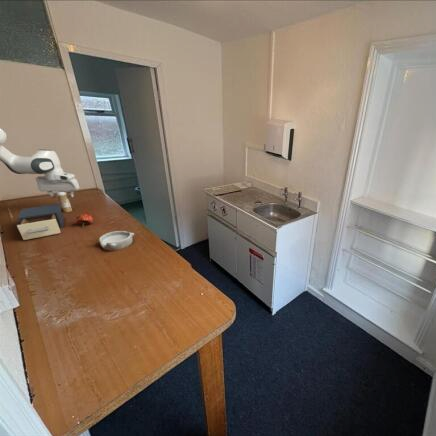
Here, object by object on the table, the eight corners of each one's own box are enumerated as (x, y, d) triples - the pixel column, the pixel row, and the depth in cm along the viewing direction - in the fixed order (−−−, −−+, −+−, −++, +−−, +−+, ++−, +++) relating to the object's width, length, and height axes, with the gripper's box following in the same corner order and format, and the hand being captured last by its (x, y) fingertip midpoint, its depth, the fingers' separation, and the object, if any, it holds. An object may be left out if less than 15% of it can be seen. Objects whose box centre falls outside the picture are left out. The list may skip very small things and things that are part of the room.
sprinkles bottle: (61, 212, 151) (54, 192, 145) (66, 210, 155) (59, 190, 149) (69, 212, 151) (62, 192, 146) (74, 210, 156) (67, 190, 150)
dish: (117, 253, 110) (114, 244, 108) (93, 249, 112) (90, 240, 110) (141, 239, 123) (139, 231, 121) (119, 236, 125) (116, 228, 123)
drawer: (60, 236, 121) (54, 222, 118) (22, 243, 113) (15, 229, 109) (61, 223, 134) (56, 211, 131) (27, 229, 126) (21, 216, 123)
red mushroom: (93, 229, 135) (98, 215, 140) (82, 224, 129) (89, 208, 133) (80, 230, 135) (86, 216, 140) (69, 225, 129) (76, 209, 133)
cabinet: (63, 227, 131) (57, 211, 128) (25, 234, 122) (17, 217, 119) (64, 218, 142) (58, 203, 139) (29, 224, 133) (22, 208, 130)
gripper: (30, 177, 139) (39, 199, 144) (71, 177, 144) (78, 198, 149) (38, 175, 144) (46, 196, 150) (77, 174, 149) (84, 195, 155)
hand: (63, 197), depth 149 cm, fingers open, 8 cm apart
